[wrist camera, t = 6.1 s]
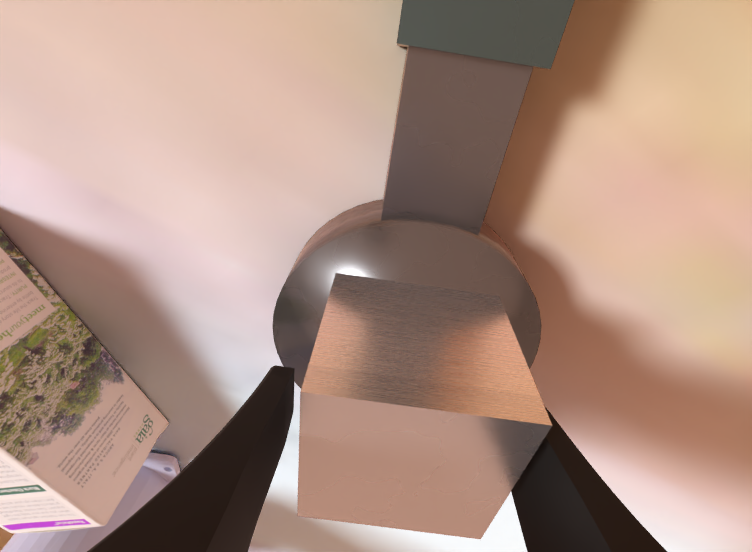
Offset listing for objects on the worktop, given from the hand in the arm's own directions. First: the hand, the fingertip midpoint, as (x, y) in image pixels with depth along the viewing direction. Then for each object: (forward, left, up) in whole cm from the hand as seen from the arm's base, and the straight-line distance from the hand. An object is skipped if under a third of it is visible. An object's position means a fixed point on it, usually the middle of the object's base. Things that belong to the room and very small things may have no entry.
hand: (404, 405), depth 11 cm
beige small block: (0, 0, -3) cm, 3 cm away
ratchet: (+5, 0, -5) cm, 7 cm away
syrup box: (+2, +20, -2) cm, 20 cm away
